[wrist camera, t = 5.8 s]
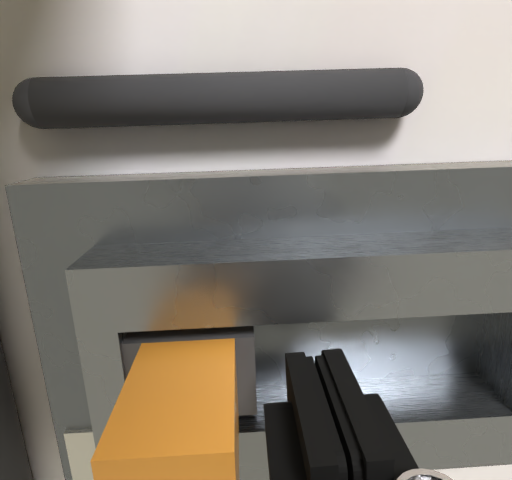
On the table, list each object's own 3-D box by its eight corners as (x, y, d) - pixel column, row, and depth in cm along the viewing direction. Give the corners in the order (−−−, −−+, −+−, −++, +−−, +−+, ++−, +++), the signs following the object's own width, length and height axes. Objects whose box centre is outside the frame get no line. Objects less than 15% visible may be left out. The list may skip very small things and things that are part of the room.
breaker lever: (136, 314, 14) (59, 463, 8) (251, 308, 14) (264, 449, 8) (145, 383, 15) (80, 569, 8) (254, 377, 15) (267, 554, 9)
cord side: (32, 129, 14) (7, 129, 13) (23, 81, 14) (-4, 75, 12) (409, 117, 15) (429, 116, 13) (412, 70, 14) (434, 64, 13)
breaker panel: (35, 177, 15) (-47, 198, 10) (564, 158, 15) (688, 170, 11) (84, 445, 18) (37, 544, 14) (517, 418, 19) (599, 504, 14)
